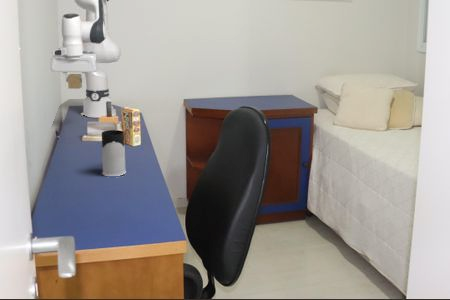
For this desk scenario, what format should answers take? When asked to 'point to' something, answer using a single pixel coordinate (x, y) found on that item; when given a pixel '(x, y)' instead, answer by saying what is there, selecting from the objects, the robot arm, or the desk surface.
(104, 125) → the press bed
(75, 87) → the housing
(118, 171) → the glass holder
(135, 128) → the candy box
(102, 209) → the desk surface
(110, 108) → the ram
